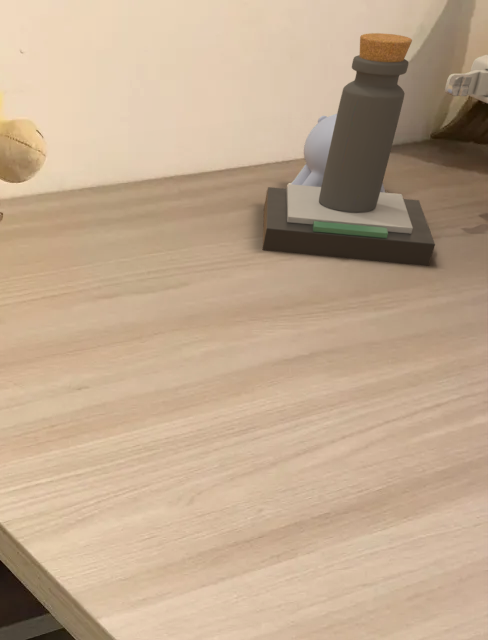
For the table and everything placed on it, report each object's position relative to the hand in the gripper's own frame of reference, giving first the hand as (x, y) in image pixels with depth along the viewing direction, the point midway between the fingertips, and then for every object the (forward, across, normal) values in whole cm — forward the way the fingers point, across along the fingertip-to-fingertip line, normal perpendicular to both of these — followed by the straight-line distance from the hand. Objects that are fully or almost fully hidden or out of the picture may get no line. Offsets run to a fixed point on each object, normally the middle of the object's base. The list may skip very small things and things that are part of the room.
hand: (473, 94), depth 101 cm
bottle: (+10, +1, -10) cm, 15 cm away
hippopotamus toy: (+5, +15, -13) cm, 20 cm away
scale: (+11, 0, -13) cm, 17 cm away
